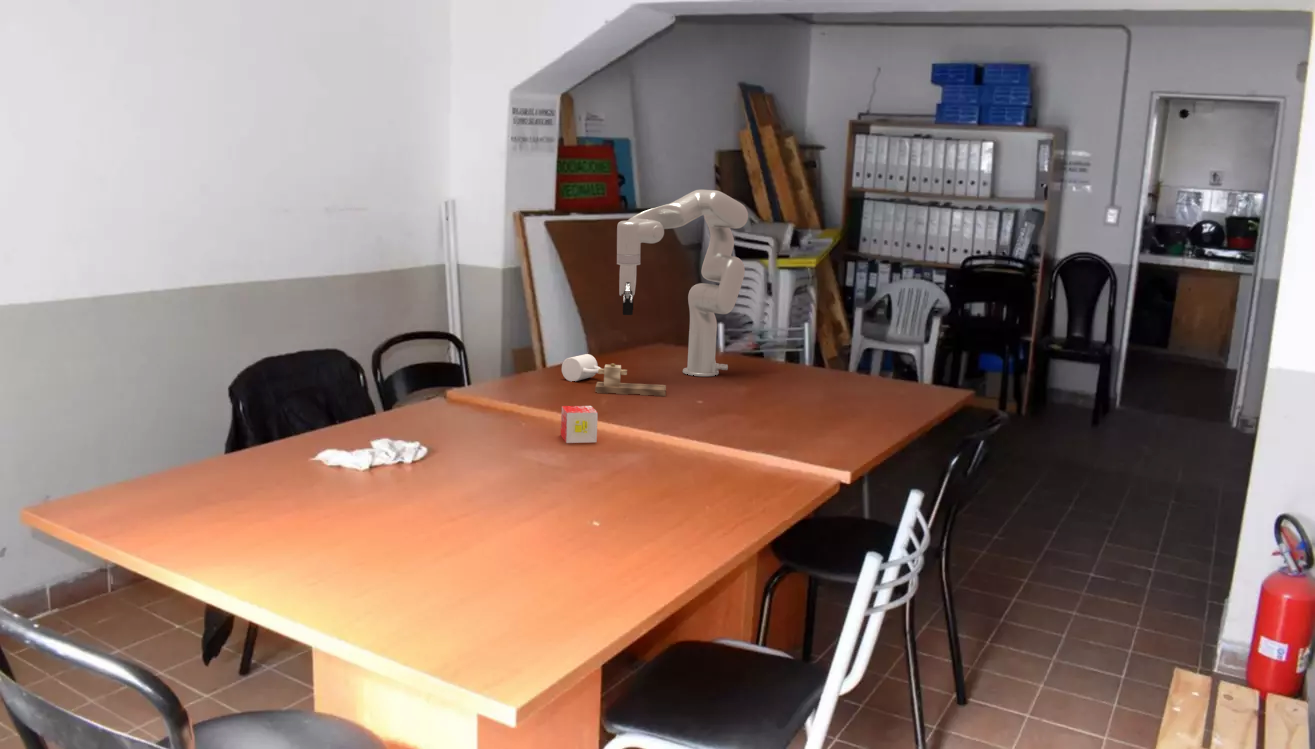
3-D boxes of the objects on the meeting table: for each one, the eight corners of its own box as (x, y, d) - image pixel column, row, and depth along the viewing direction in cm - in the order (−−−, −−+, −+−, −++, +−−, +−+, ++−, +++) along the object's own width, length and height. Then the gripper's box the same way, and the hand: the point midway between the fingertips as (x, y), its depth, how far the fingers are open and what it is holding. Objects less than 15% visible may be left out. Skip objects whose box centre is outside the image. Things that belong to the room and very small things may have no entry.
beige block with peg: (626, 384, 345) (627, 363, 343) (626, 386, 340) (626, 365, 339) (598, 382, 345) (599, 361, 343) (597, 385, 340) (598, 364, 339)
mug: (560, 380, 357) (561, 356, 356) (577, 375, 366) (578, 352, 364) (591, 385, 351) (592, 360, 350) (607, 380, 360) (608, 357, 359)
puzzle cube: (566, 443, 276) (567, 412, 275) (560, 435, 284) (561, 406, 282) (596, 442, 278) (598, 412, 277) (590, 435, 286) (591, 405, 284)
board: (665, 391, 347) (665, 384, 346) (665, 396, 339) (665, 389, 338) (597, 387, 347) (597, 381, 346) (595, 392, 339) (595, 386, 338)
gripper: (617, 256, 356) (617, 308, 359) (616, 262, 339) (615, 316, 342) (640, 257, 356) (639, 308, 359) (639, 263, 339) (639, 317, 343)
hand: (628, 312), depth 351 cm, fingers open, 9 cm apart
